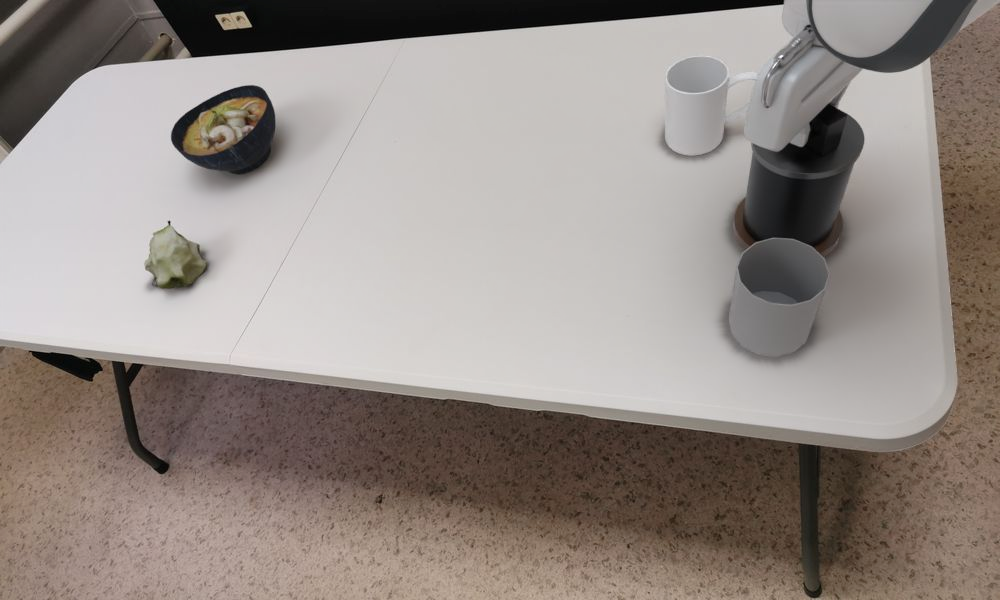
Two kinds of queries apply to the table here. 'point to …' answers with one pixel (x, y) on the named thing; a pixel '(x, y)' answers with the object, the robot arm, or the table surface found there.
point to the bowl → (228, 131)
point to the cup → (776, 296)
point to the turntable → (748, 241)
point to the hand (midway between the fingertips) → (811, 128)
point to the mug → (698, 103)
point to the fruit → (173, 259)
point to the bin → (803, 181)
